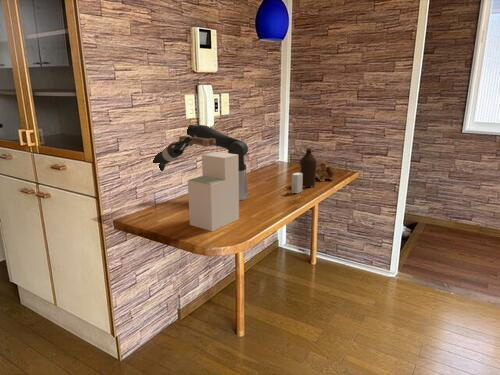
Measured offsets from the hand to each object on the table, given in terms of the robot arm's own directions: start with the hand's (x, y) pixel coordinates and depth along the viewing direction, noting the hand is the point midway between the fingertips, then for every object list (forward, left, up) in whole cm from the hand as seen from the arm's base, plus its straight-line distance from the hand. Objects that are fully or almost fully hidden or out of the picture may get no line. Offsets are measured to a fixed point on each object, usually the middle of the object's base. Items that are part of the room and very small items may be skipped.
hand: (192, 137), depth 182 cm
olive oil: (-80, +23, -39) cm, 92 cm away
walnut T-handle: (0, +2, -3) cm, 4 cm away
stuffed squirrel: (-102, +25, -39) cm, 112 cm away
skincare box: (-62, +25, -39) cm, 77 cm away
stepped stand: (+5, +17, -39) cm, 43 cm away
